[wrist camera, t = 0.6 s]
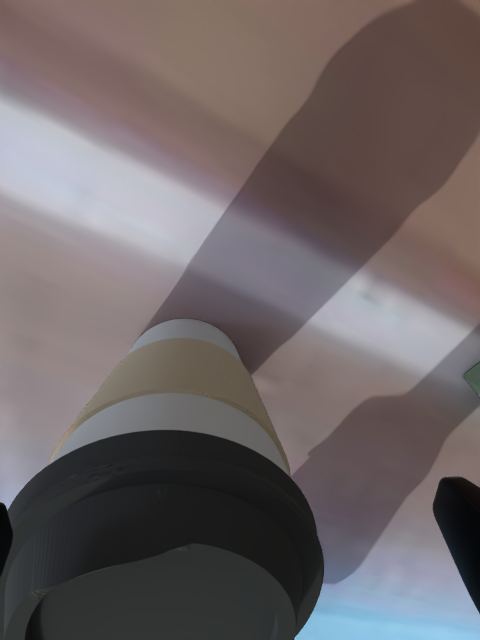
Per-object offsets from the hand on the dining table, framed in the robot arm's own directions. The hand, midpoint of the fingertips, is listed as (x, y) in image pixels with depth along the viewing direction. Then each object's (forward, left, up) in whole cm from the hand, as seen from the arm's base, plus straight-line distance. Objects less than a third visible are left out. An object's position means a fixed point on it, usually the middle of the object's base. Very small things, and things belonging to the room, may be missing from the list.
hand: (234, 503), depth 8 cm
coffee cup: (-4, +2, -15) cm, 15 cm away
